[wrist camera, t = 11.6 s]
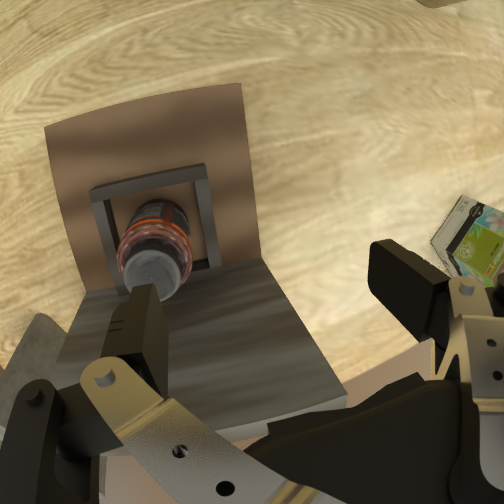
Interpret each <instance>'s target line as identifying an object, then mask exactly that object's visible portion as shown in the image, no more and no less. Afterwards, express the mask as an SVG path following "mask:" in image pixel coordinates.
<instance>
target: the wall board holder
mask: <svg viewBox="0 0 504 504" xmlns="http://www.w3.org/2000/svg"><path fill="white" fill-rule="evenodd" d="M44 130H45V136H46V143H47V149H48V155H49V160H50V166H51V171H52V176H53V180H54V185H55V189H56V194H57V198H58V202H59V206H60V210H61V214H62V218H63V221H64V225H65V228H66V232H67V235H68V239H69V242H70V245H71V248H72V252H73V255H74V258H75V261H76V264H77V267H78V270H79V272H80V275H81V278H82V281H83V284H84V286H85V289H86V292H87V293H86V295H85V297H84V299H83V301H82V303H81V305H80V307H79V309H78V311H77V314H76V316H75V318H74V320H73V322H72V325H71V327H70V329H69V331H68V334H67V336H66V338H65V341H64V343H63V346H62V348H61V350H60V353H59V355H58V358H57V360H56V363H55V366H54V368H53V371H52V373H51V376H50V379H49V381H50V382H51V383H52V384H53V385H54V387H55V388H56V390H59V389H62V388H65V387H68V386H71V385H74V384H77V383H80V378H81V374H82V372H83V371H84V369H85V368H86V367H87V366H88V365H89V364H91V363H92V362H94V361H96V360H98V359H100V355H101V352H102V348H103V344H104V341H105V337H106V334H107V332H108V327H109V324H110V320H111V317H112V314H113V312H114V311H115V309H116V308H117V307H118V306H119V305H120V304H121V303H124V302H129V298H130V294H131V293H130V292H129V290H128V289H127V287H126V285H125V283H124V279H123V278H122V276H121V274H120V272H119V269H118V265H117V251H118V247H119V244H120V241H121V239H122V237H123V235H124V233H125V231H126V228H127V226H128V225H129V223H130V221H131V219H132V217H133V215H134V213H135V212H136V210H137V209H138V208H139V207H140V206H141V205H142V204H144V203H146V202H148V201H150V200H154V199H166V200H169V201H172V202H174V203H176V204H177V205H179V206H180V207H181V208H182V209H183V211H184V212H185V214H186V216H187V218H188V221H189V226H190V235H191V244H192V253H193V263H192V268H191V271H190V274H189V276H188V278H187V279H186V281H185V282H184V283H183V284H182V285H181V286H180V287H179V288H178V289H177V291H176V292H175V293H174V294H173V296H171V297H170V298H168V299H166V300H164V301H162V302H160V303H161V306H162V309H163V312H164V316H165V319H166V322H167V327H168V334H169V345H168V397H172V398H173V399H175V400H176V401H177V402H179V403H180V404H181V405H182V406H183V407H185V408H186V409H187V410H188V411H190V412H191V413H192V414H193V415H195V416H196V417H197V418H198V419H200V420H201V421H202V422H203V423H205V424H206V425H207V426H209V427H210V428H211V429H213V430H214V431H215V432H217V433H218V434H219V435H221V436H222V437H223V438H225V439H226V440H228V441H229V442H230V443H231V442H236V441H241V440H246V439H250V438H254V437H259V436H262V435H267V434H268V428H267V423H269V422H274V421H278V420H282V419H286V418H289V417H293V416H297V415H301V414H304V413H308V412H316V411H326V410H336V409H344V408H346V403H347V397H348V393H347V392H346V390H345V389H344V387H343V385H342V384H341V382H340V381H339V379H338V377H337V376H336V374H335V373H334V371H333V370H332V368H331V366H330V365H329V363H328V362H327V360H326V358H325V357H324V355H323V354H322V352H321V351H320V349H319V347H318V346H317V344H316V343H315V341H314V339H313V338H312V336H311V335H310V333H309V332H308V330H307V328H306V327H305V325H304V324H303V322H302V321H301V319H300V317H299V316H298V314H297V313H296V311H295V309H294V308H293V306H292V305H291V303H290V302H289V300H288V298H287V297H286V295H285V294H284V292H283V291H282V289H281V287H280V286H279V284H278V283H277V281H276V280H275V278H274V276H273V275H272V273H271V272H270V270H269V269H268V267H267V265H266V264H265V262H264V261H263V259H262V257H261V248H260V239H259V230H258V222H257V213H256V205H255V196H254V188H253V179H252V171H251V162H250V154H249V146H248V138H247V129H246V121H245V113H244V105H243V97H242V89H241V83H237V84H227V85H218V86H210V87H203V88H196V89H189V90H183V91H177V92H172V93H166V94H161V95H156V96H151V97H146V98H142V99H137V100H133V101H129V102H125V103H121V104H117V105H113V106H109V107H105V108H102V109H98V110H95V111H91V112H88V113H85V114H82V115H78V116H75V117H72V118H69V119H66V120H63V121H60V122H57V123H55V124H52V125H49V126H46V127H44ZM130 455H132V454H131V453H130V452H129V451H128V450H127V448H126V447H125V446H122V447H119V448H116V449H113V450H110V451H107V452H104V453H101V454H100V456H130Z"/></svg>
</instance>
